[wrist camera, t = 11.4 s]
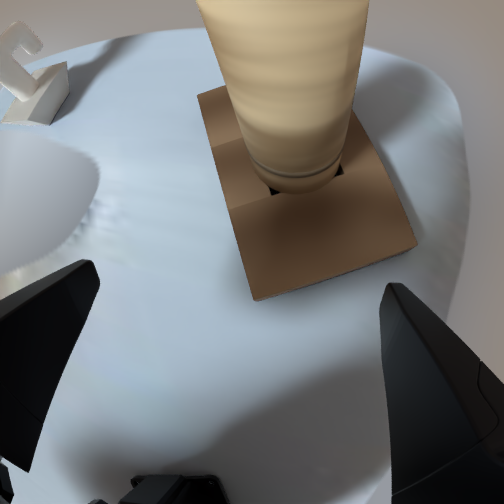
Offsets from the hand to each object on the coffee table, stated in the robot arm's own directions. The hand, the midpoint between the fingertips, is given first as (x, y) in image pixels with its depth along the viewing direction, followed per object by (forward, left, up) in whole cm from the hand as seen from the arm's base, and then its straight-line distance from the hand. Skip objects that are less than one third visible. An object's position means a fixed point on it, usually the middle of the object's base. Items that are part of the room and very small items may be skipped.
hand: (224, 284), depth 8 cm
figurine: (+25, +17, -8) cm, 31 cm away
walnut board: (+7, -4, -8) cm, 11 cm away
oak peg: (+7, -4, -8) cm, 11 cm away
